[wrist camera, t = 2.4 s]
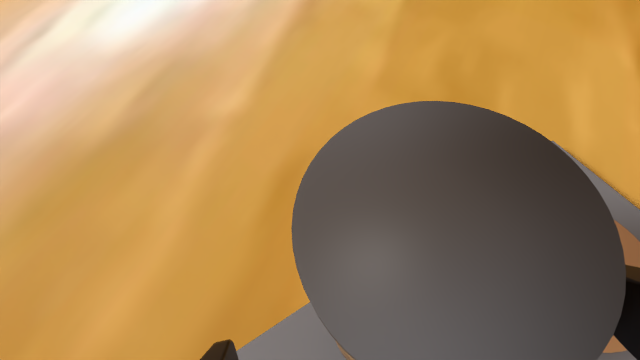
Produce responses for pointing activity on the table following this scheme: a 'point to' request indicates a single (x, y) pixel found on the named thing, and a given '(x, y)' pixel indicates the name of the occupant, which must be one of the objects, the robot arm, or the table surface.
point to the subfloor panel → (325, 356)
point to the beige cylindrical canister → (456, 240)
